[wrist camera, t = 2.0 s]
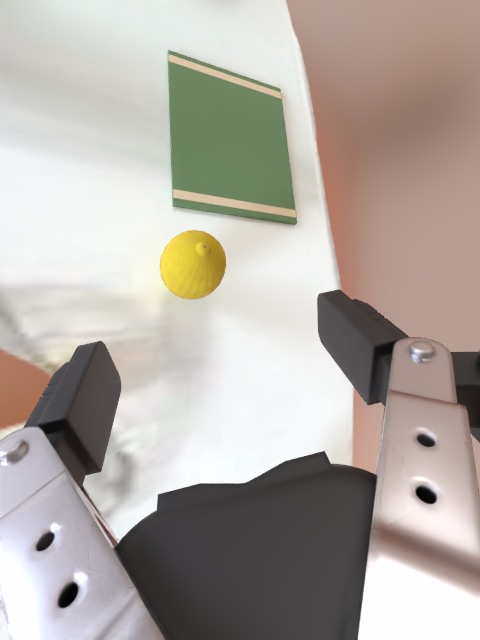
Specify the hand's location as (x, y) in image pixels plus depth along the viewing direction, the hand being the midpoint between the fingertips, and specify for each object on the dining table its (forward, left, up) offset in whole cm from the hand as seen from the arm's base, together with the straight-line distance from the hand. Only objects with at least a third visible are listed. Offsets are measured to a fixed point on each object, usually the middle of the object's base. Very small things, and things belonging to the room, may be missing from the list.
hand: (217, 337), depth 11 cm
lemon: (-2, +9, -18) cm, 20 cm away
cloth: (-6, +28, -18) cm, 33 cm away
